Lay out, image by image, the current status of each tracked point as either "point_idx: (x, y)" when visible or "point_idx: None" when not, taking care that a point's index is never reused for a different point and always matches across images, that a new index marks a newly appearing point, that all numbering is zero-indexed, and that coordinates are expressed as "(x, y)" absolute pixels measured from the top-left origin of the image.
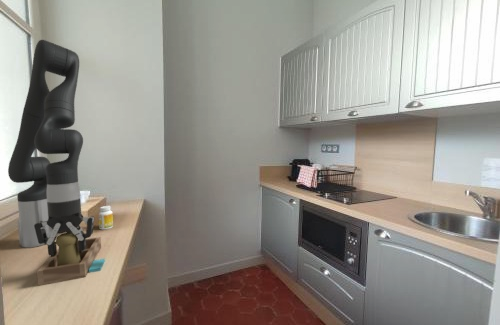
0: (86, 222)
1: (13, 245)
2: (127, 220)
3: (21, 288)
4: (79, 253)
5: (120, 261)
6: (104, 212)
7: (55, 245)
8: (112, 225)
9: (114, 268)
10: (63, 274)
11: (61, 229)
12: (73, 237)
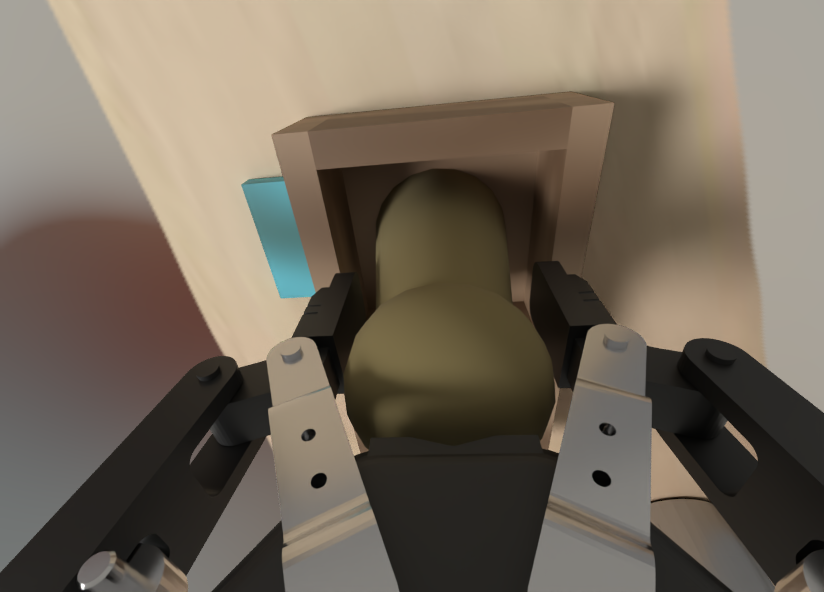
0: (80, 590)
1: None
2: None
3: (665, 88)
4: None
5: (186, 258)
6: None
7: (551, 349)
8: None
9: (171, 178)
10: (425, 110)
11: (507, 498)
12: (356, 365)
